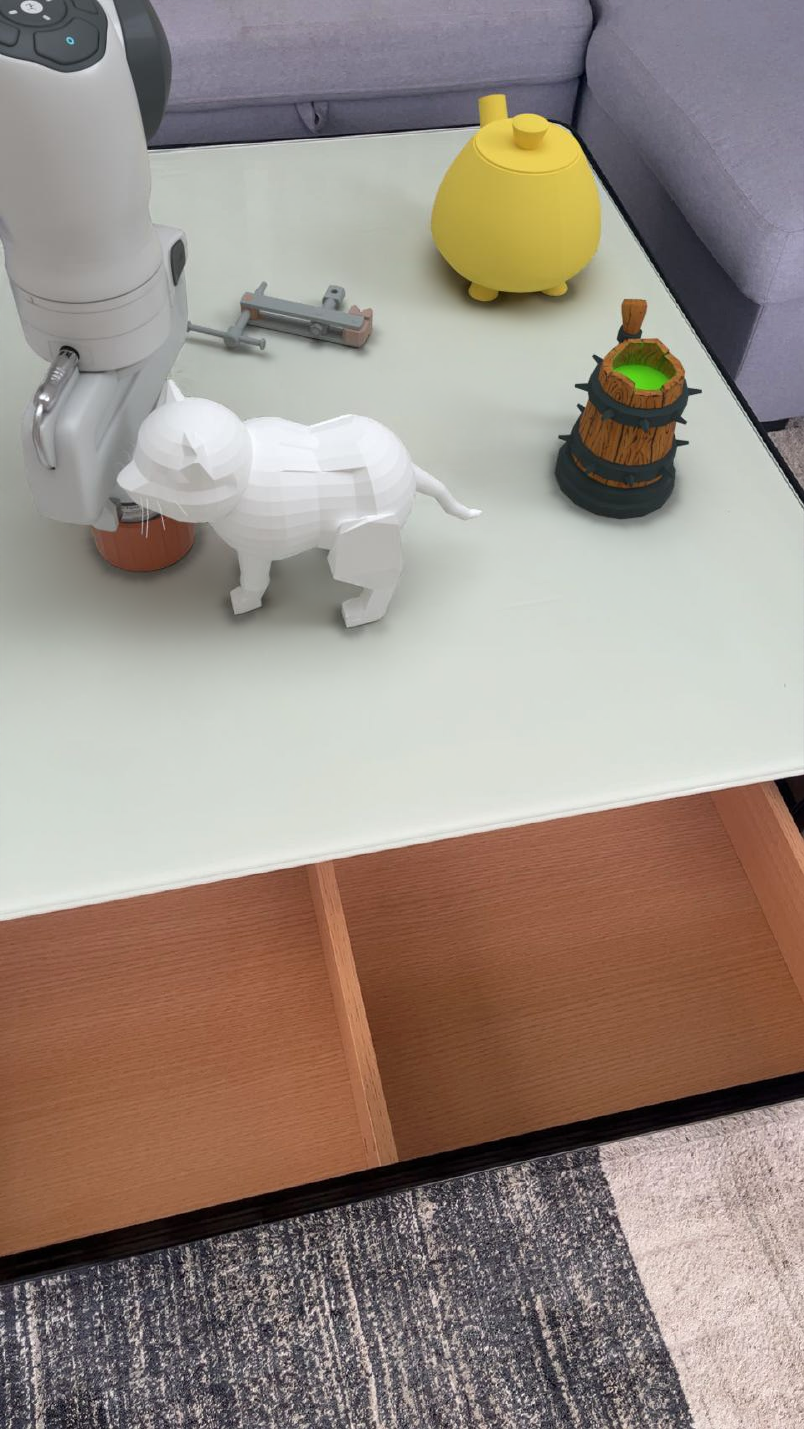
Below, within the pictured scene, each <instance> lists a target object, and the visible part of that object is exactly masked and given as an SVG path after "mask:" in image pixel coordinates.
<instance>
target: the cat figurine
mask: <svg viewBox="0 0 804 1429" xmlns="http://www.w3.org/2000/svg"><path fill="white" fill-rule="evenodd" d="M128 443H130V442H128ZM132 444H133V443H132ZM133 447H134V445H133ZM134 450H135V451H134V454H133V458H132V461H131V460H130V461H131V462H130V463H129V464H128V465H127V466H126V467H125V466H124V465H123V466H124V467H125V468H124V469H123V470H122V471H121V472H120V473H119V474H118V477H117V482H118V483H119V485H120V486H121V487H122V488H123V489H124V490H125V491H126V492H127V493H128V495H129V497H130V498H131V499H132V500H133V501H134V502H135V503H136V504H139V505H141V506H143V507H146V508H147V511H148V509H150V510H153V511H155V512H158V513H160V514H161V516H162V515H165V516H167V517H170V518H172V519H175V520H177V521H180V522H182V521H183V522H191V523H195V524H198V523H199V524H200V523H209V524H210V526H211V527H212V529H213V530H214V531H215V533H216V535H217V536H219V537H220V538H221V539H222V540H223V541H224V542H225V544H227V545H229V546H230V548H232V549H233V550H235V551H237V552H236V553H237V558H238V563H239V564H238V565H239V569H240V576H239V582H240V586H237V587H236V588H234V589H232V590H231V591H229V594H230V602H231V605H232V606H231V607H232V610H233V613H234V616H236V615H242V614H245V613H248V612H250V611H253V610H256V609H259V608H260V607H262V597H263V595H264V594H265V592H266V590H267V589H268V587H269V585H270V583H271V576H270V572H271V567H272V562H273V561H281V560H283V561H284V560H285V559H288V558H290V557H293V556H297V555H299V554H301V553H304V552H307V551H308V550H313V549H314V548H318V549H323V550H328V551H329V552H328V555H327V557H326V559H327V563H328V565H329V568H330V571H331V574H332V576H333V580H337V581H339V582H342V583H347V584H350V585H355V586H358V587H361V588H362V590H361V592H360V595H359V597H357V596H356V597H350V598H349V599H347V600H344V601H343V602H341V614H342V615H341V616H342V618H343V621H344V625H345V627H346V628H352V627H357V626H358V627H359V626H361V625H364V624H368V623H371V622H375V621H378V620H380V619H381V618H382V617H384V616H385V614H386V612H387V609H388V607H389V605H390V602H391V600H392V598H393V596H394V594H395V591H396V589H397V587H398V584H399V581H400V577H401V576H402V573H403V569H404V558H403V548H402V547H403V546H402V538H401V531H402V529H403V528H404V526H405V524H406V523H407V521H408V519H409V518H410V516H411V513H412V510H413V508H414V503H415V500H416V494H417V492H418V493H420V494H423V495H426V496H429V497H431V498H434V499H435V501H437V503H438V504H439V506H440V507H441V508H442V510H443V511H444V512H445V513H446V514H447V515H450V516H452V517H455V518H456V519H457V518H458V519H460V520H461V521H462V520H463V521H468V520H471V519H475V518H478V517H479V516H480V515H481V514H482V513H483V512H482V510H481V509H476V508H468V507H466V506H465V505H463V504H462V503H460V502H459V501H457V500H456V499H455V498H454V497H453V496H452V494H451V493H450V491H449V489H448V488H447V487H446V486H445V484H444V483H443V482H441V481H440V480H438V479H436V478H435V477H434V476H432V475H431V474H429V473H428V472H427V471H425V470H423V469H422V468H421V467H419V466H418V465H417V464H415V463H414V462H413V461H412V458H411V455H410V454H409V452H408V450H407V448H406V446H405V444H403V442H402V441H401V439H400V438H399V437H398V436H397V435H396V434H395V433H394V432H393V431H392V430H391V429H390V428H388V427H387V426H386V425H384V424H383V423H381V422H379V421H377V420H376V419H374V418H370V417H367V416H365V415H359V414H351V413H345V414H343V415H342V414H341V415H338V416H336V417H333V418H329V419H326V420H323V421H319V422H317V423H313V424H310V425H306V424H302V423H299V422H295V421H292V420H288V419H285V418H282V417H278V416H259V417H253V418H249V419H247V420H243V421H242V420H241V418H239V416H237V415H236V413H234V412H233V411H232V410H230V409H229V408H228V407H226V406H225V405H223V404H220V403H219V402H218V401H214V400H212V399H209V398H203V397H193V396H191V397H190V396H189V397H185V396H184V394H183V392H182V391H181V390H180V388H179V387H178V385H177V384H176V383H175V381H174V380H173V379H172V378H171V379H167V382H165V383H164V384H163V387H162V390H161V394H160V397H159V400H158V403H157V406H156V409H155V410H154V411H152V412H151V413H150V414H149V415H148V416H147V417H146V418H145V419H144V421H143V422H142V424H141V426H140V429H139V433H138V439H137V446H136V449H135V448H134ZM124 452H126V451H124ZM127 453H128V452H127ZM128 456H129V454H128ZM129 459H130V457H129ZM119 463H120V462H119ZM115 464H117V463H115ZM120 464H121V463H120ZM121 465H122V464H121ZM143 507H142V510H143ZM162 520H163V518H162ZM163 525H164V523H163ZM147 528H148V520H147ZM142 530H143V517H142ZM164 530H165V527H164ZM146 538H147V535H146Z"/></svg>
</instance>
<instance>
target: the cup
mask: <svg viewBox="0 0 804 1429" xmlns="http://www.w3.org/2000/svg"><path fill="white" fill-rule="evenodd" d="M162 518H163V520H162ZM163 523H164V525H163ZM89 527H90V531H91V535H92V538H93V541H94V543H95V546H96V549H97V551H98V553H99V555H101V557H102V558H103V560H105V561H106V562H108V563H109V564H110V565H112V566H114V567H117V568H119V569H122V570H125V571H129V572H152V571H158V570H160V569H164V568H166V567H167V568H168V567H169V566H172V565H173V564H175V563H176V562H178V561H180V560H181V559H182V558H183V557H185V555H186V554H187V553H188V552H189V551H190V550H191V548H192V546H193V544H194V543H195V538H196V523H191V522H183V521H182V522H180V521H177V520H175V519H172V518H170V517H167V516H165V515H163V516H161V517H159V518H158V519H154V520H151V521H148V528H147V522H144V523H143V530H142V523H130V524H128V523H122V522H120V523H119V525H118V528H117V530H116V531H114V532H111V531H105V530H99V529H96V528H95V527H93V526H92V525H89ZM164 527H165V530H164ZM146 535H147V538H146Z"/></svg>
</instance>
